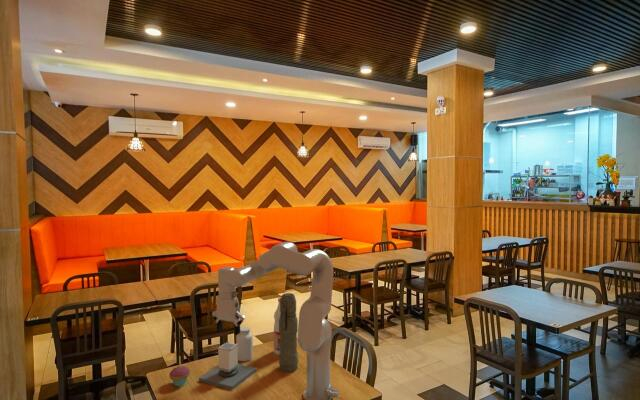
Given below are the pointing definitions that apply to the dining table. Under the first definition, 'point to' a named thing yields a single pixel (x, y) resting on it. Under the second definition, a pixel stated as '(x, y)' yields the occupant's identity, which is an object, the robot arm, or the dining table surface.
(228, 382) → the post base
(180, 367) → the cupcake
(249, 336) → the pill bottle
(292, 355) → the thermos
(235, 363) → the white rectangular block
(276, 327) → the fruit juice
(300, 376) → the dining table surface
